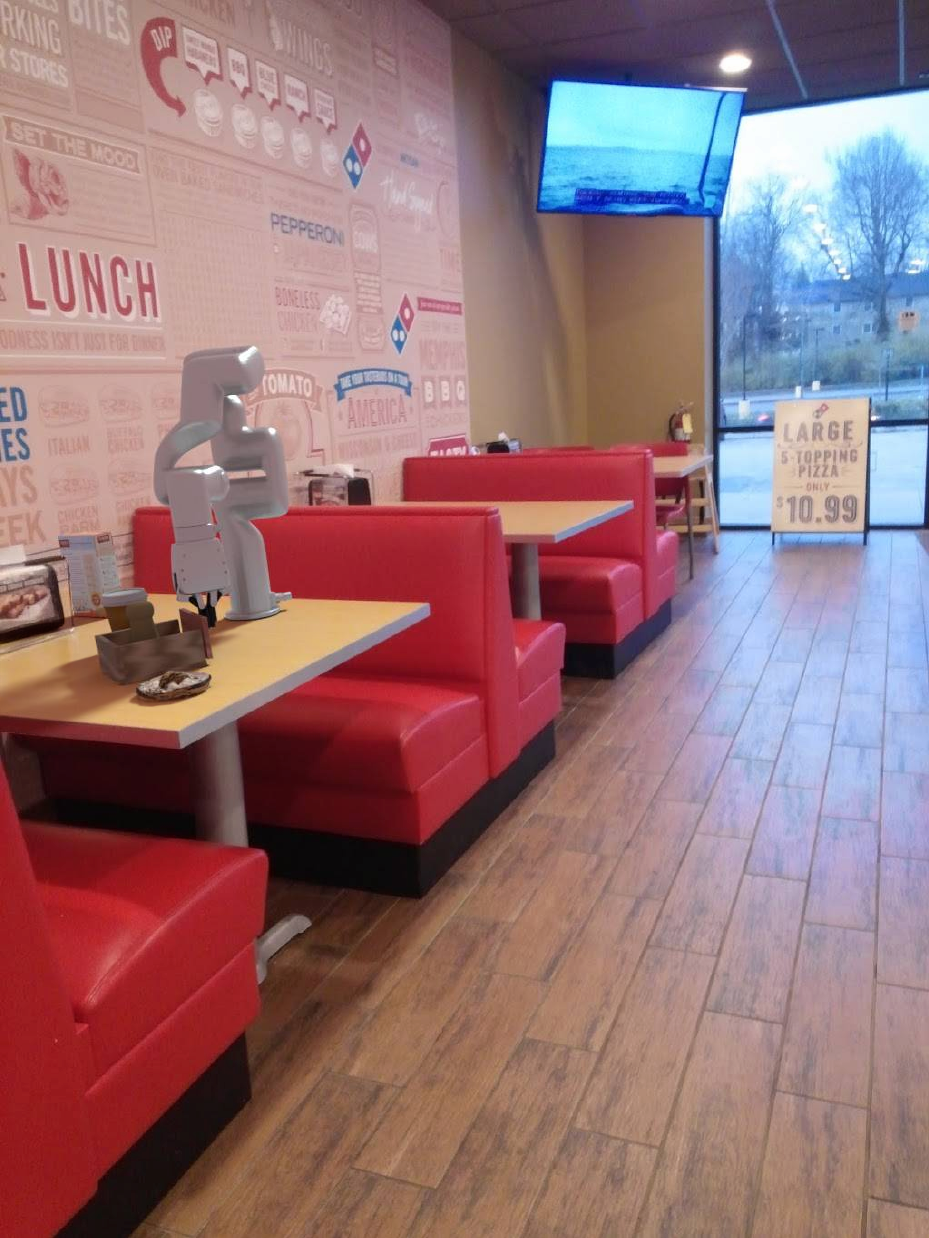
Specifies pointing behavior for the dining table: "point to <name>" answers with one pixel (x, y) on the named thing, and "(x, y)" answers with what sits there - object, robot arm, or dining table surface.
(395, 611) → the dining table surface
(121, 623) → the disposable coffee cup
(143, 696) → the pie
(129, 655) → the caddy
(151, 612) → the olive green pawn
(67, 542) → the cracker box
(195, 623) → the drawer
